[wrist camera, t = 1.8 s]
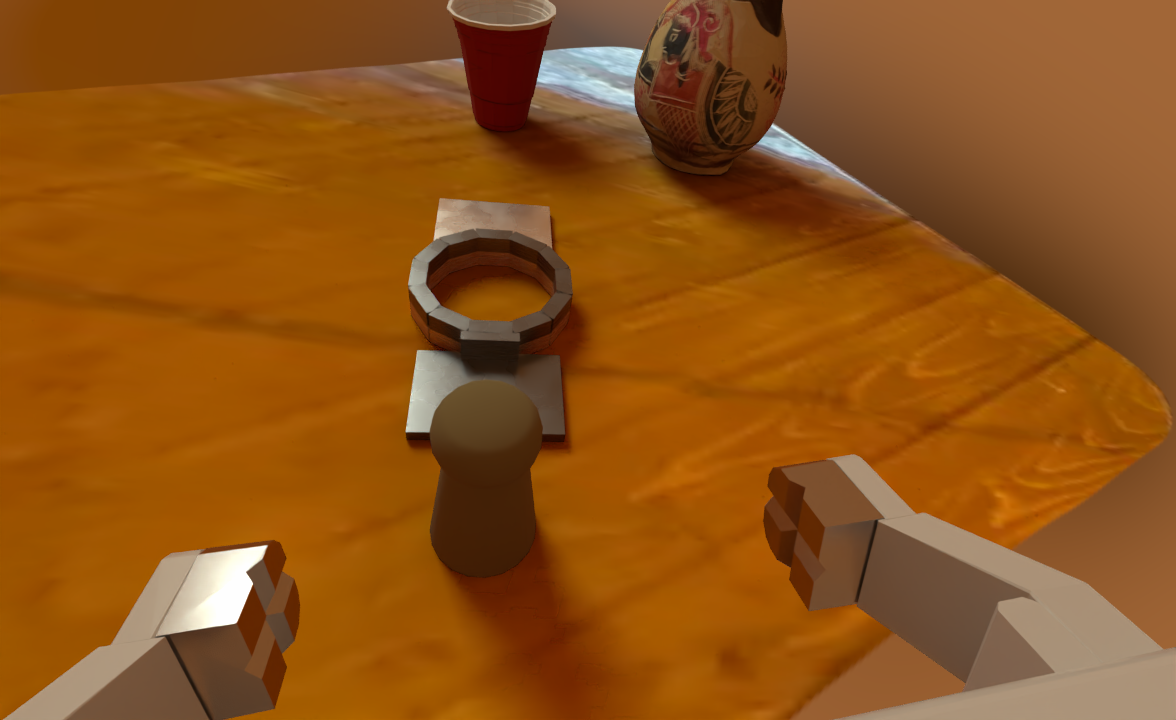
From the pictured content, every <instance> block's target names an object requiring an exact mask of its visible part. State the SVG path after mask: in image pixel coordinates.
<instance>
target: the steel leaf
mask: <svg viewBox="0 0 1176 720" xmlns="http://www.w3.org/2000/svg"><path fill="white" fill-rule="evenodd" d="M476 228H479V229H493V230H508V231H513V233H514V232H518V233H520V234H523V235H525V236H528V237H530V238H532V239H535V240H537V241H540V242H542V243H545V244H547V246H550V247H551V248H552V239H551V225H550V210H549V207H547V206H534V205H521V204H508V203H495V202H481V201H468V200H455V199H442V198H440V200H439V207H438V214H437V221H436V228H435V234H434V241H435V240H436V239H439V237H443V236H446V235H450V234H454V233H458V232H462V231H466V230H469V229H474V230H475V231H476ZM475 265H491V266H508V267H511V268H513V269H515V270H518V271H520V272H522V273H525V274H527V275H530V276H532V277H534V278H536V279H537V281H538V282H539V283H540V284H541V285H542V286H543V287H544V288H545V290H546V291H547V292H548V293H549V294H550V295H551V296H553V295H554V286H553V282H552V281H551V280H550V279H549V278H548V277H547V276H546V275H545V274H544V272H543V271H542V270H541V269H540V268H539V267H538V266H537V265H536V264H534V263H531V262H529V261H526V260H524V259H522V258H519V257H517V256H515V255H512V254H510V253H497V252H481V251H477V252H473V253H470V254H466V255H463V256H459V257H456V258H452V259H449V260H448V261H447V262H445V263H444V264H443V265H442V266H441V267H440V268H439V269H438V270H436V271H435V272H434V273H433V274H432V275H431V276H430V278H429V285H428V288H429V290H430V291H431V289H432V288H433V287H435V286H436V285H437V284H438V283H439V282H440V281H441V280H442V279H443V278H444V277H445V276H447V275H448V274H449V273H451V272H454V271H458V270H461V269H465V268H468V267H471V266H475ZM410 309H411V316H412V317H413V319H414V320H415V322H416V323H417V325H418V326H419V328H420V329H421V330H422V332H423V333H424V335H425V336H426V338H427V339H428V341H430V343H433V344H435V345H437V346H439V347H441V348H443V349H445V350H448V351H455V352H461V343H459V342H457V341H455V340H453V339H450V338H448V337H446V336H444V335H442V334H440V333H437V332H435V331H433V330H431V329H430V328H429V327H427V326H426V324H425V323H424V321H423V320H422V318H421V317H420V315H419V314H418V313H417V311H416V310H415V308H414V307H413V305H412V304H411V302H410ZM569 313H570V310H569V311H568V313H567V314H566V315H565V316H564V318H563V319H562V320H561V322H560V323H559V324H558V325H557V327H556V328H555V329H554V330H553V332H550V334H548V335H546V336H543V337H540V338H538V339H535V340H533V341H530V342H527V343H525V344H522V345H520V346H519V354H532V353H534V352H537V351H539V350H542V349H544V348H547V347H548V345H551V344H552V342H553V341H554V340H555V339H556V337H557V336H558V335H559V333H560V332H561V331H562V329H563V328H564V327H565V325H566V324H567V323H568V319H569Z"/></svg>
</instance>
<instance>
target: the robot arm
mask: <svg viewBox="0 0 1176 720" xmlns="http://www.w3.org/2000/svg"><path fill="white" fill-rule="evenodd" d="M768 488H769V489H770V491H771V492H772V494H773V495H774V496H773V497H772V498H771V499H770V501H769V502H768V503H767V504H766V505H765V508H764V519H763V522H764V528H765V534H766V538H767V541H768V543H769V546H770V549H771V550H772V552H773V554H774V555H775V557H776V559H777V560H779V561H780V562H782V563H784V564H785V565H787V566H789V567H791V571H790V578H789V580H790V582H791V583H792V585H793V587H794V588H795V590H796V591H797V593H798V595H799V596H800V598H801V600H802V601H803V603H804V604H805V606H806V608H807V609H808V611H813V610H819V609H826V608H832V607H839V606H845V605H852V604H857V607H858V608H860V609H861V610H863V611H864V612H866V613H867V614H868V615H870V616H871V617H873V618H874V619H875V620H877V621H878V622H880V623H881V624H882V625H884V626H885V627H887V628H888V629H890V630H891V631H892V632H894V633H895V634H897V635H898V636H899V637H901V638H902V639H904V640H905V641H906V642H908V643H909V644H911V645H912V646H914V647H915V648H916V649H918V650H919V651H921V652H922V653H923V654H925V655H926V656H928V657H929V658H931V659H932V660H933V661H935V662H936V663H937V664H939V665H941V666H942V667H943V668H945V669H946V670H947V671H949V672H950V673H952V674H953V675H955V676H956V677H957V678H959V679H960V680H962V681H963V682H964V683H966V684H965V687H964V689H963V691H962V693H957V694H952V695H947V696H943V697H938V698H934V699H929V700H924V701H919V702H915V703H909V704H905V705H900V706H895V707H891V708H886V709H881V710H876V711H872V712H867V713H862V714H858V715H853V716H848V717H844V718H839V719H834V720H1176V647H1174V648H1170V649H1165V650H1164V649H1162V648H1161V647H1160V646H1159V645H1158V644H1156V643H1155V642H1154V641H1153V640H1152V639H1151V638H1150V637H1148V636H1147V635H1146V634H1145V633H1144V632H1143V631H1141V630H1140V629H1139V628H1138V627H1137V626H1136V625H1135V624H1133V623H1132V622H1131V621H1130V620H1128V618H1126V617H1125V616H1124V615H1123V614H1122V613H1121V612H1119V611H1118V610H1117V609H1116V608H1114V606H1113V605H1111V604H1110V603H1109V602H1108V601H1107V600H1105V599H1104V598H1103V597H1102V596H1101V595H1100V594H1098V593H1097V592H1096V591H1095V590H1094V589H1093V588H1092V587H1090V586H1089V585H1088V584H1087V583H1085V582H1082V581H1081V580H1078V579H1076V578H1074V577H1071V576H1069V575H1067V574H1064V573H1062V572H1060V571H1057V570H1055V569H1053V568H1051V567H1048V566H1046V565H1043V564H1041V563H1039V562H1037V561H1034V560H1032V559H1030V558H1027V557H1025V556H1023V555H1020V554H1018V553H1016V552H1014V551H1011V550H1009V549H1007V548H1004V547H1002V546H1000V545H997V544H995V543H993V542H991V541H988V540H986V539H984V538H981V537H979V536H977V535H974V534H972V533H970V532H967V531H965V530H963V529H961V528H958V527H956V526H954V525H951V524H949V523H947V522H944V521H942V520H940V519H937V518H935V517H933V516H931V515H928V514H926V513H921V514H916V513H915V512H914V511H913V510H912V509H911V508H910V507H909V506H908V505H907V504H906V503H905V502H904V501H903V500H902V499H901V498H900V497H899V496H898V495H897V494H896V493H895V492H894V491H893V490H892V489H891V488H890V487H889V486H888V485H887V484H886V483H885V482H884V481H883V480H882V479H881V478H880V477H879V475H878V474H877V473H876V472H875V471H874V470H873V469H872V468H871V467H870V466H869V465H868V464H867V463H866V462H865V461H864V460H863V459H862V458H861V457H859V456H856V455H854V454H853V455H847V456H841V457H835V458H829V459H826V460H820V461H813V462H807V463H800V464H794V465H787V466H780V467H774V468H773V469H772V470H771V472H770V474H769V479H768ZM285 561H286V556H285V553H284V551H283V549H282V546H281V544H280V542H277V541H275V540H270V541H262V542H254V543H246V544H238V545H230V546H221V547H213V548H206V549H204V550H194V551H186V552H178V553H171V554H170V555H168V556H167V557H165V558H164V559H162V560H161V562H160V563H159V565H158V567H157V568H156V570H155V572H154V573H153V575H152V577H151V578H150V580H149V582H148V583H147V585H146V587H145V588H144V590H143V592H142V593H141V595H140V597H139V598H138V600H137V602H136V604H135V605H134V607H133V609H132V610H131V612H130V614H129V615H128V617H127V619H126V620H125V622H124V624H123V625H122V627H121V629H120V630H119V632H118V634H117V635H116V637H115V639H114V640H113V642H112V644H111V645H109V646H104V647H98V648H97V649H96V650H94V651H93V652H92V653H91V654H89V655H88V656H87V657H85V658H84V659H83V660H81V661H80V662H79V663H77V664H76V665H75V666H73V667H72V668H71V669H69V670H68V671H67V672H66V673H64V674H63V675H62V676H60V677H59V678H58V679H56V680H55V681H54V682H52V683H51V684H50V685H48V686H47V687H46V688H44V689H43V690H42V691H41V692H39V693H38V694H37V695H35V696H34V697H33V698H31V699H30V700H29V701H27V702H26V703H25V704H23V705H22V706H21V707H19V708H18V709H17V710H16V711H14V712H13V713H12V714H10V715H9V716H8V717H6V718H5V719H4V720H223V719H228V718H233V717H238V716H242V715H247V714H252V713H257V712H261V711H266V710H271V709H275V706H276V703H277V699H278V696H279V692H280V689H281V686H282V682H283V679H284V675H285V672H286V669H287V666H286V663H285V661H284V658H283V656H282V653H283V652H284V651H285V650H286V649H287V648H288V647H289V646H290V645H291V644H292V643H293V642H294V641H295V637H296V633H297V629H298V626H299V614H300V601H299V594H298V589H297V586H296V583H295V580H294V579H293V578H292V577H290V576H288V575H287V574H285V573H284V572H282V570H283V567H284V564H285Z"/></svg>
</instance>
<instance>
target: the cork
mask: <svg viewBox="0 0 1176 720" xmlns="http://www.w3.org/2000/svg"><path fill="white" fill-rule="evenodd" d="M429 432H430V440H431V447H432V453H433V455H434V456H435V458H436V460H437V461H438V463H439V465H440V466H441V470H440V476H439V482H438V487H437V493H436V498H435V504H434V510H433V515H432V521H431V526H430V534H431V541H432V546H433V548H434V550H435V551H436V553H437V555H438V557H439V559H440V560H441V561H443V562H444V563H445V564H446V565H447V566H448V567H449V568H450V569H452V570H454V571H456V572H459V573H461V574H464V575H466V576H472V577H489V576H494V575H498V574H502V573H504V572H506V571H508V570H509V569H511V568H513V567H514V566H516V565H518V563H519V562H520V561H521V560H522V559H523V558H524V557H525V556H526V555H527V554H528V552H529V550H530V548H531V545H532V543H533V541H534V539H535V528H536V520H535V511H534V501H533V491H532V482H531V472H530V468H531V466H532V465H533V463H534V462H535V459H536V457H537V455H538V453H539V451H540V449H541V444H542V434H543V426H542V422H541V419H540V416H539V412H538V409H537V407H536V406H535V405H534V403H533V402H532V401H531V399H530V398H529V397H528V396H527V395H526V394H525V393H524V392H522V391H521V390H519V389H518V388H516V387H515V386H513V385H511V384H508V383H505V382H502V381H496V380H487V379H486V380H479V381H472V382H469V383H467V384H464V385H462V386H459V387H458V388H456V389H455V390H454V391H452V392H451V393H450V394H448V395H447V396H446V397H445V398H443V400H442V401H441V403H440V404H439V406H438V407H437V408H436V410H435V412H434V415H433V418H432V423H431V427H430V431H429Z"/></svg>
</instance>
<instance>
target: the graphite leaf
mask: <svg viewBox="0 0 1176 720" xmlns="http://www.w3.org/2000/svg"><path fill="white" fill-rule="evenodd" d="M477 251H481V252H497V253H510V254H512V255H515V256H517V257H519V258H522V259H524V260H526V261H529V262H531V263H534V264H536V265H537V266H538V267H539V268H540V269H541V270H542V271H543V272H544V274H545V275H546V276H547V277H548V278H549V279H550V280H551V281H552V282H553V286H554V295H553V296H552V298H551V299H550V300H549V301H548V302H547V304H546V305H545V306H544V307H543V308H542V310H541V311H538V312H536V313H533V314H530V315H527V316H524V317H521V318H519V319H516V320H513V321H510V322H505V321H483V320H471V319H469V318H467V317H465V316H462V315H460V314H458V313H456V312H454V311H451V310H449V309H447V308H445V307H442V306H441V305H440V304H439V302H438V301H437V299H436V298H435V297H434V295H433V294H432V293H431V291H430V290H429V288H428V285H429V278H430V276H431V275H432V274H433V273H434V272H435V271H436V270H438V269H439V268H440V267H441V266H442V265H443V264H444V263H445V262H447V261H448V260H449V259H452V258H456V257H459V256H463V255H466V254H470V253H473V252H477ZM408 288H409V299H410V302H411V304H412V305H413V307H414V308H415V310H416V311H417V313H418V314H419V315H420V317H421V318H422V320H423V321H424V323H425V324H426V326H427V327H429V328H430V329H431V330H433V331H435V332H437V333H440V334H442V335H444V336H446V337H448V338H450V339H453V340H455V341H457V342H459V343H461V352H455V351H428V350H418V351H417V358H416V365H415V371H414V378H413V385H412V392H411V399H410V406H409V412H408V419H407V426H406V438H407V439H414V440H430V432H429V431H430V427H431V423H432V418H433V415H434V412H435V410H436V408H437V407H438V406H439V404H440V403H441V401H442V400H443V398H445V397H446V396H447V395H448V394H450V393H451V392H452V391H454V390H455V389H456V388H458V387H459V386H462V385H464V384H467V383H469V382H472V381H479V380H486V379H487V380H496V381H502V382H505V383H508V384H511V385H513V386H515V387H516V388H518V389H519V390H521V391H522V392H524V393H525V394H526V395H527V396H528V397H529V398H530V399H531V401H532V402H533V403H534V405H535V406H536V407H537V409H538V412H539V416H540V419H541V422H542V426H543V434H542V441H562V442H564V438H565V425H564V410H563V396H562V382H561V367H560V355H537V354H519V346H520V345H522V344H525V343H527V342H530V341H533V340H535V339H538V338H540V337H543V336H546V335H548V334H550V332H553V330H554V329H555V328H556V327H557V325H558V324H559V323H560V322H561V320H562V319H563V318H564V316H565V315H566V314H567V313H568V311H569V310H570V307H571V301H572V295H573V293H572V283H571V273H570V269H569V266H568V265H567V264H566V263H565V262H564V261H563V260H562V259H561V258H560V257H559V256H558V255H557V254H556V253H555V252H554V250H553V249H552V248H551V247H550V246H547V244H545V243H542V242H540V241H537V240H535V239H532V238H530V237H528V236H525V235H523V234H520V233H518V232H514V233H513V231H508V230H493V229H479V228H476V231H475V230H474V229H469V230H466V231H462V232H458V233H454V234H450V235H446V236H443V237H439V239H436V240H435V241H433V242H432V243H431V244H430V245H429V246H427V247H426V248H425V249H424V250H423V251H421V252H420V253H419V254H418V255H417V256H415V257H414V259H413V261H412V267H411V272H410V278H409V284H408Z"/></svg>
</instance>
